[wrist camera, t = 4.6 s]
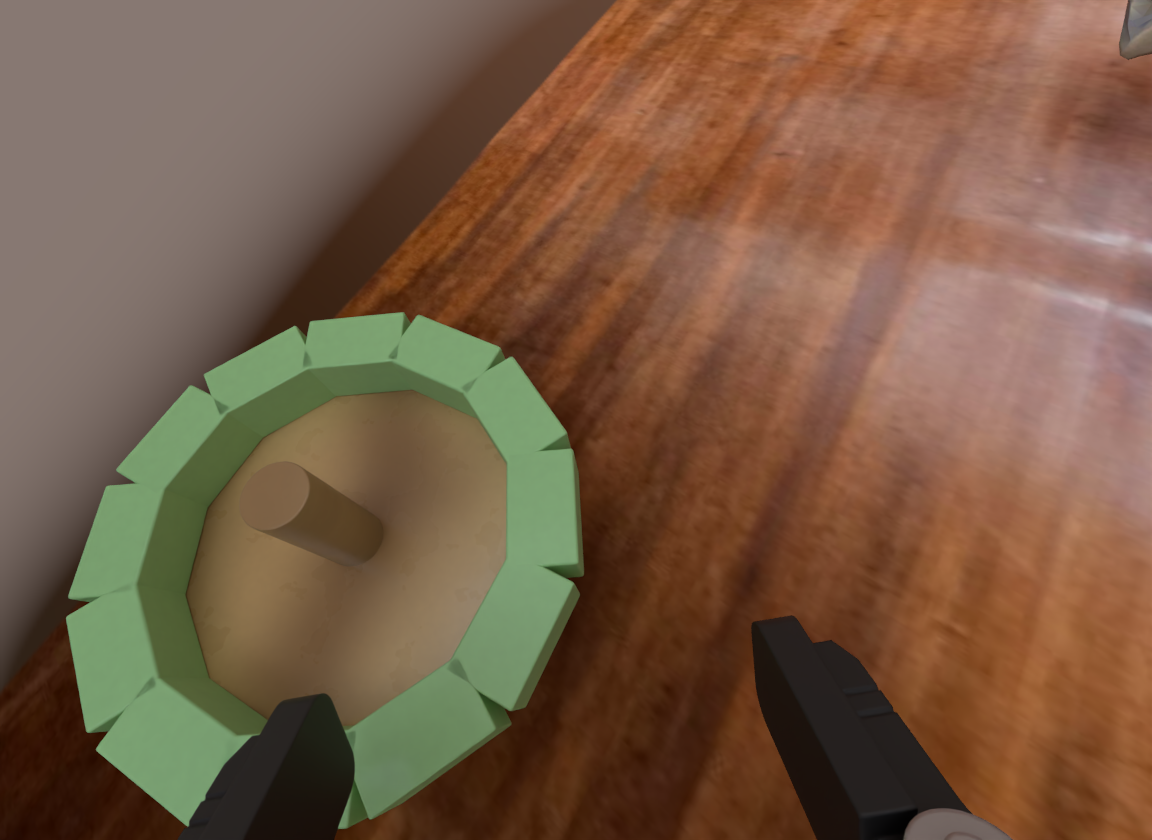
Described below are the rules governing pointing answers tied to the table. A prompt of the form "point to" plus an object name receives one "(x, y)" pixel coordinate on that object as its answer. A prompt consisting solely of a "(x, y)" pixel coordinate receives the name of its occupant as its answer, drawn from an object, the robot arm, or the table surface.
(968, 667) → the table surface
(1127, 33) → the wood carving
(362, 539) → the stand
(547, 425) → the ring
